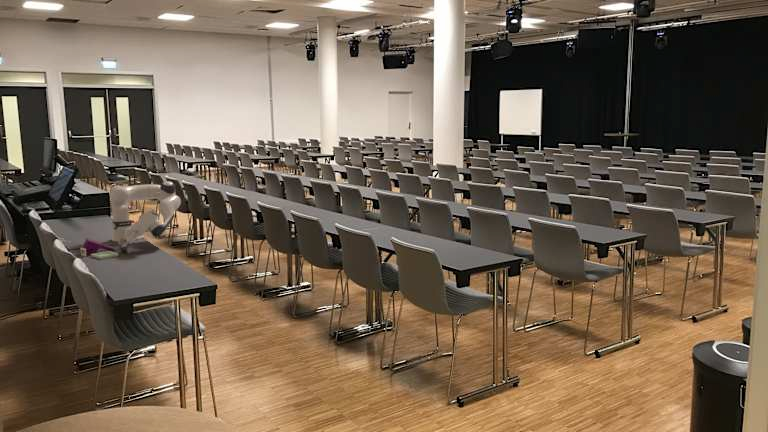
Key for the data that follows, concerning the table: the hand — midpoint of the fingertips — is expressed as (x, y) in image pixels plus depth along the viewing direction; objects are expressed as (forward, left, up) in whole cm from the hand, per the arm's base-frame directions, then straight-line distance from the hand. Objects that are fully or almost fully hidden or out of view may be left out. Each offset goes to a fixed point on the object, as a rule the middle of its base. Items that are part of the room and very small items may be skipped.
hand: (122, 245), depth 419 cm
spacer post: (-1, 0, -5) cm, 5 cm away
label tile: (+21, -11, -5) cm, 24 cm away
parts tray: (+13, +1, -5) cm, 14 cm away
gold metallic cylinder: (-7, -12, -5) cm, 14 cm away
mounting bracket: (+9, -13, -5) cm, 17 cm away
